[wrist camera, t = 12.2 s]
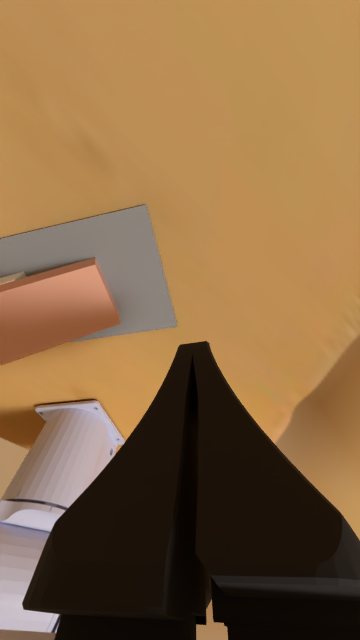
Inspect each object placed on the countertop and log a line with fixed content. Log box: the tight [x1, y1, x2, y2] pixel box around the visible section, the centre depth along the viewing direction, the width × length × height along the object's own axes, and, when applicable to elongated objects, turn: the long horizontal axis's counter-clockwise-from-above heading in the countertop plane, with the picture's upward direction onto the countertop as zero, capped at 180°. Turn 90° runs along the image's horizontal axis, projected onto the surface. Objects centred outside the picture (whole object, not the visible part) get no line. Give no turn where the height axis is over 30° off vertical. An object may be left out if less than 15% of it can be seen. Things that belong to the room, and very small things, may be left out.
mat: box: [0, 204, 177, 342], centre depth 17 cm, size 9×27×1 cm, turn 101°
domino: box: [0, 257, 121, 365], centre depth 14 cm, size 4×2×8 cm
